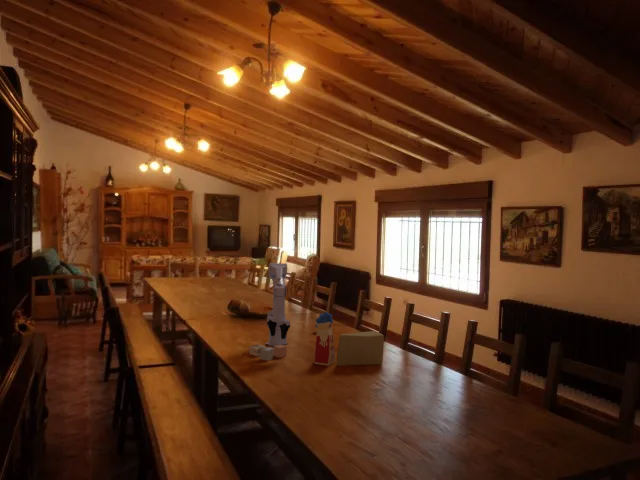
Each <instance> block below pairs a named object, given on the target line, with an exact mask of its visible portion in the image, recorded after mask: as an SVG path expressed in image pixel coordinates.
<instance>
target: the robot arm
mask: <svg viewBox="0 0 640 480" xmlns="http://www.w3.org/2000/svg"><path fill="white" fill-rule="evenodd" d="M287 274H288V264H287V263H286V262H285V263H282V262H281V263H280V262H279V263H275V262H269V263H268V277H269V279H271V281H272V310H270V311H268V312H267V318H266V326H267V328H268V329H269V330H268V332H269V333H268V342H264V343H265V345H267V346H270V347H274V346H277V345H283V346H286V345H288V340H287V336H288V331H289V329H290V327H291V321H290V320H288V319H287V318H286V313H285V312H286V297H287V286H286V282H285V279H286V277H287Z"/></svg>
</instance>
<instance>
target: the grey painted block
mask: <svg viewBox="0 0 640 480" xmlns="http://www.w3.org/2000/svg"><path fill="white" fill-rule="evenodd" d="M268 347H269V346H266V347H265V348H262V349H260V356H259V359H260V360H263V361H268V362H269V361H270V360H273V359H274V352H273V348H274V347H273V348H268Z"/></svg>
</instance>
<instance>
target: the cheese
mask: <svg viewBox="0 0 640 480" xmlns="http://www.w3.org/2000/svg"><path fill="white" fill-rule="evenodd" d="M338 338H339V339H338V344H337V345H338V346H337V353H336V355H337V357H336V365H337V366H339V367H341V366H342V367H343V366H345V367H347V366H368V365H369V366H370V365H371V366H375V365H377V366H379V365H383V362H384V361H383V360H384V359H383V358H384V340H385V337H384V334H382V333H380V332H378V331H376V330H371V331H361V332H353V333H341V334H340V335H339V337H338Z"/></svg>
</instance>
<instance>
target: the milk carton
mask: <svg viewBox="0 0 640 480" xmlns="http://www.w3.org/2000/svg"><path fill="white" fill-rule="evenodd" d="M315 324H316V323H315ZM316 325H317V328H316V337H315V345H314V346H315V347H314V349H315V350H314V358H313V360H314V362H313V364H316V365H323V366H327V367H330V366H331V365H332V364H334V362H336V351H335V350H336V349H335V339H334V335H333V329H332V324H331V325H330V322H327V323H323V324H316Z"/></svg>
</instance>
